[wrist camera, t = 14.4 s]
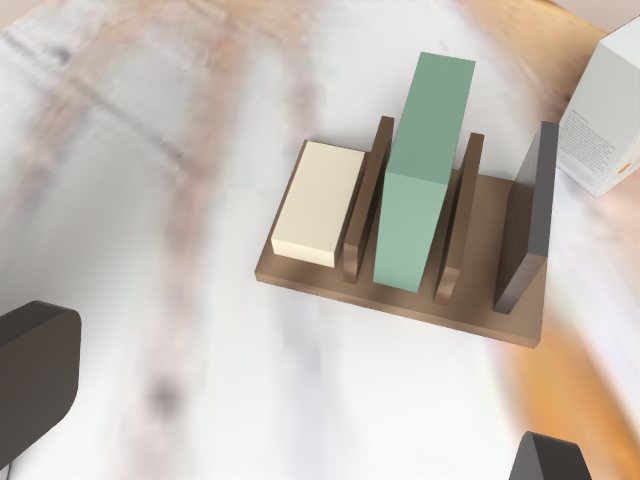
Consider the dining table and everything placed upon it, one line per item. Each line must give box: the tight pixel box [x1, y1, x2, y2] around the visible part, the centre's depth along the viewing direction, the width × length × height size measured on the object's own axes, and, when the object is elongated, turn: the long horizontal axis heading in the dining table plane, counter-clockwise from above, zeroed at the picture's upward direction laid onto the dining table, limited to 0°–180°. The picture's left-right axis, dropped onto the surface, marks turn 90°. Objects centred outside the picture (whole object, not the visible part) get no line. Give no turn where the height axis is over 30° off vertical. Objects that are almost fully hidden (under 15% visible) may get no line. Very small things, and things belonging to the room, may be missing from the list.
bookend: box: [492, 121, 559, 315], centre depth 40 cm, size 1×11×9 cm, turn 165°
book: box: [373, 52, 476, 293], centre depth 39 cm, size 4×10×14 cm, turn 163°
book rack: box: [254, 116, 547, 349], centre depth 43 cm, size 22×14×8 cm, turn 74°
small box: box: [556, 15, 640, 198], centre depth 45 cm, size 8×6×13 cm
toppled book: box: [271, 141, 365, 268], centre depth 46 cm, size 5×10×2 cm, turn 164°
